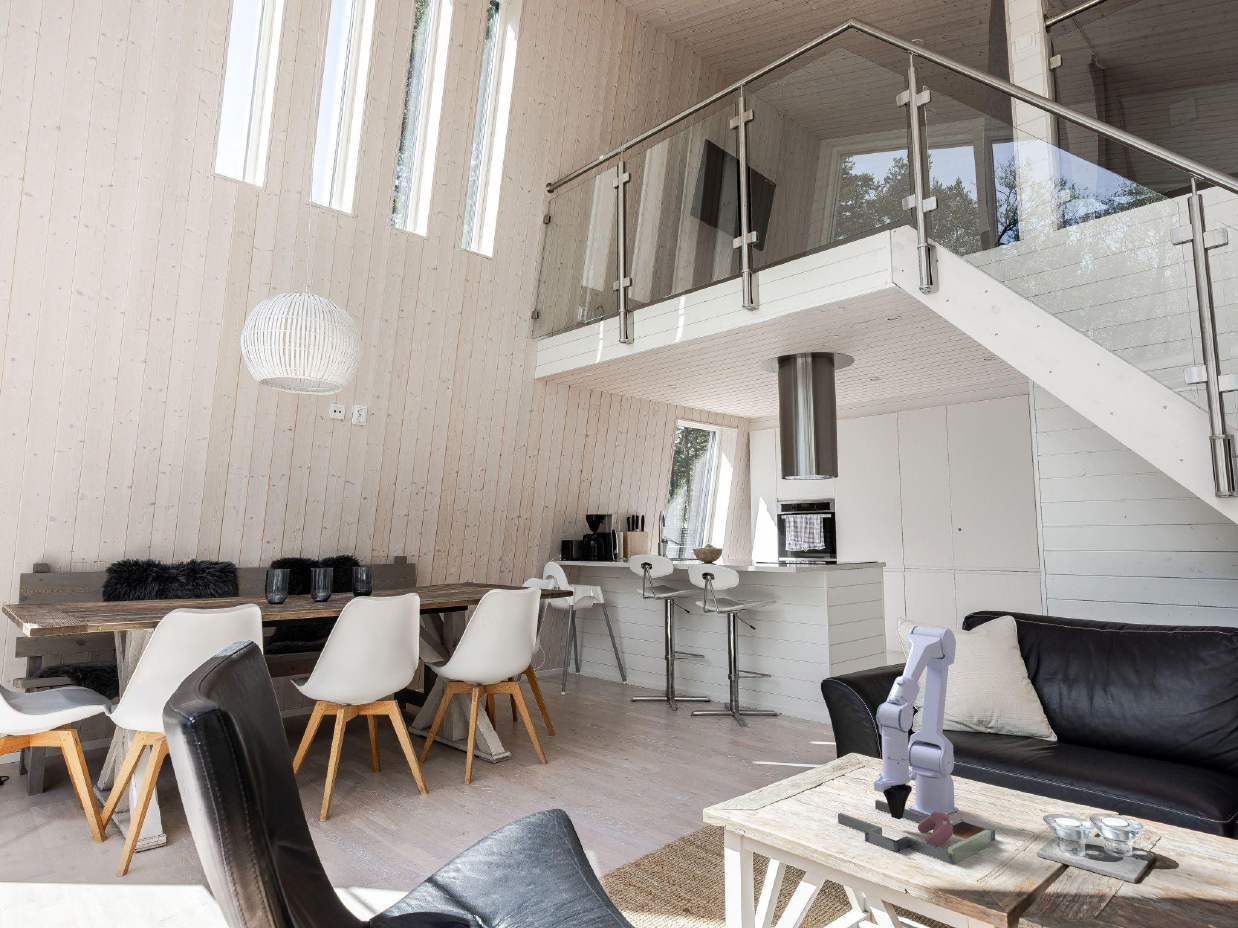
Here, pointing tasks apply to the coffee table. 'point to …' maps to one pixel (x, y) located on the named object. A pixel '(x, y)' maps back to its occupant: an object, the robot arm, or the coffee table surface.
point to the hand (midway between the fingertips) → (896, 817)
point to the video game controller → (936, 828)
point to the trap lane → (973, 842)
